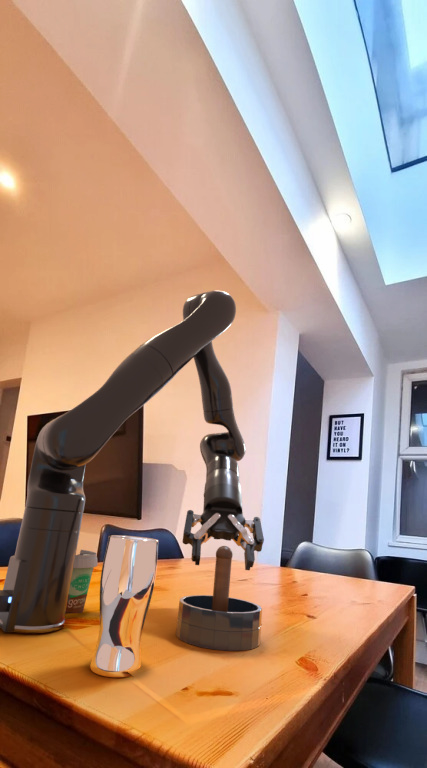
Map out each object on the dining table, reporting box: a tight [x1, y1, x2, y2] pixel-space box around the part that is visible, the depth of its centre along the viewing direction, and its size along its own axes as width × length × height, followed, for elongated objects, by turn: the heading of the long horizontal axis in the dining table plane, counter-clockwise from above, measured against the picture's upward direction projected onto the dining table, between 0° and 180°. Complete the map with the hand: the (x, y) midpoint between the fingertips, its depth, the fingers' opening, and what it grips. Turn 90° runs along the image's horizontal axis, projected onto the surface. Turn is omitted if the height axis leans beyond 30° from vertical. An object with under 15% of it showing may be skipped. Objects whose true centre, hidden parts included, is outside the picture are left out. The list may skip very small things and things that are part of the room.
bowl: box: [175, 594, 263, 652], centre depth 67 cm, size 13×13×6 cm
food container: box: [65, 549, 99, 615], centre depth 76 cm, size 12×6×10 cm, turn 167°
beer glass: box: [89, 534, 160, 678], centre depth 54 cm, size 7×7×15 cm
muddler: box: [212, 545, 234, 612], centre depth 69 cm, size 4×4×14 cm
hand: (223, 564), depth 70 cm, fingers open, 8 cm apart
